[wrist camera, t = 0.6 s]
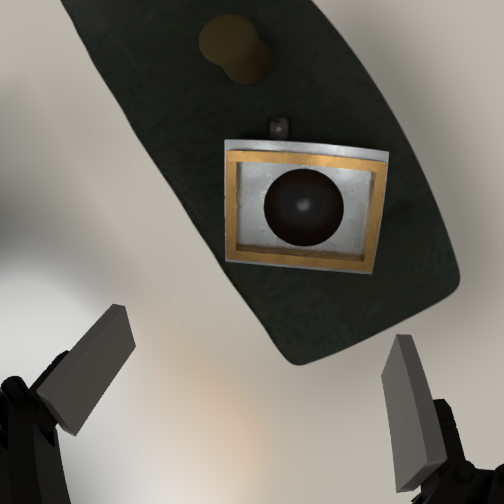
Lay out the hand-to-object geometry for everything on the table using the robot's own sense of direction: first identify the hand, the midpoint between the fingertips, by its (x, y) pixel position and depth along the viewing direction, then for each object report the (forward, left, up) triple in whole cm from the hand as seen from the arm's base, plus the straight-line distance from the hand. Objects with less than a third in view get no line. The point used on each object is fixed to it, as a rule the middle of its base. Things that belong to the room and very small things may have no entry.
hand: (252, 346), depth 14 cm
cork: (-18, -5, -25) cm, 31 cm away
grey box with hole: (-3, +2, -25) cm, 25 cm away
